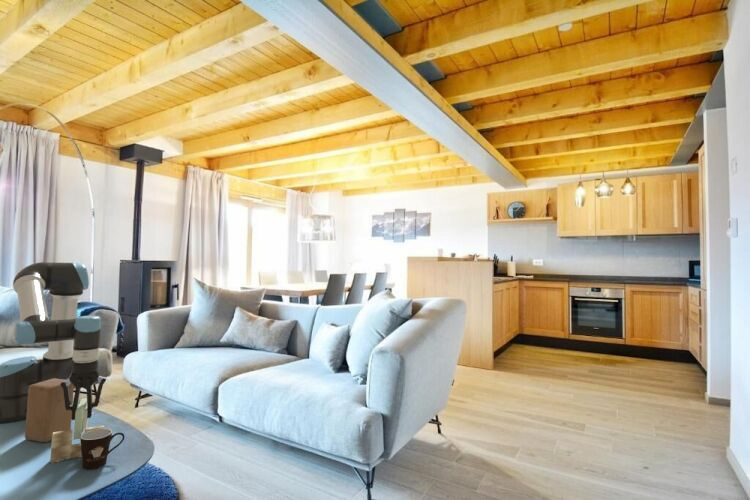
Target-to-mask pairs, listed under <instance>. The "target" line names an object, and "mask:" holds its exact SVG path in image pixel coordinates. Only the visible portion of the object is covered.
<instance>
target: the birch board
mask: <svg viewBox="0 0 750 500" xmlns="http://www.w3.org/2000/svg"><path fill="white" fill-rule="evenodd" d="M101 428H105V425H104V424H103V425H98V426H89V427H88V426H87V428H86V429H84V433H85V432H87V431H90V430H94V429H101ZM73 435H74V429H71V430H66V431H59V432H53V434H52V440H51V445H50V446H51V447H50V461H49V462H50V463H51V464H55V463H54V462H57V463H60V462H61V461H62V460H61V459H66V460H68V459H67V458H72V459H76V458H75V457H78V458H82V457H81V456H82V454H81V442H79V443H74V444H73ZM59 461H60V462H59Z"/></svg>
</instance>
